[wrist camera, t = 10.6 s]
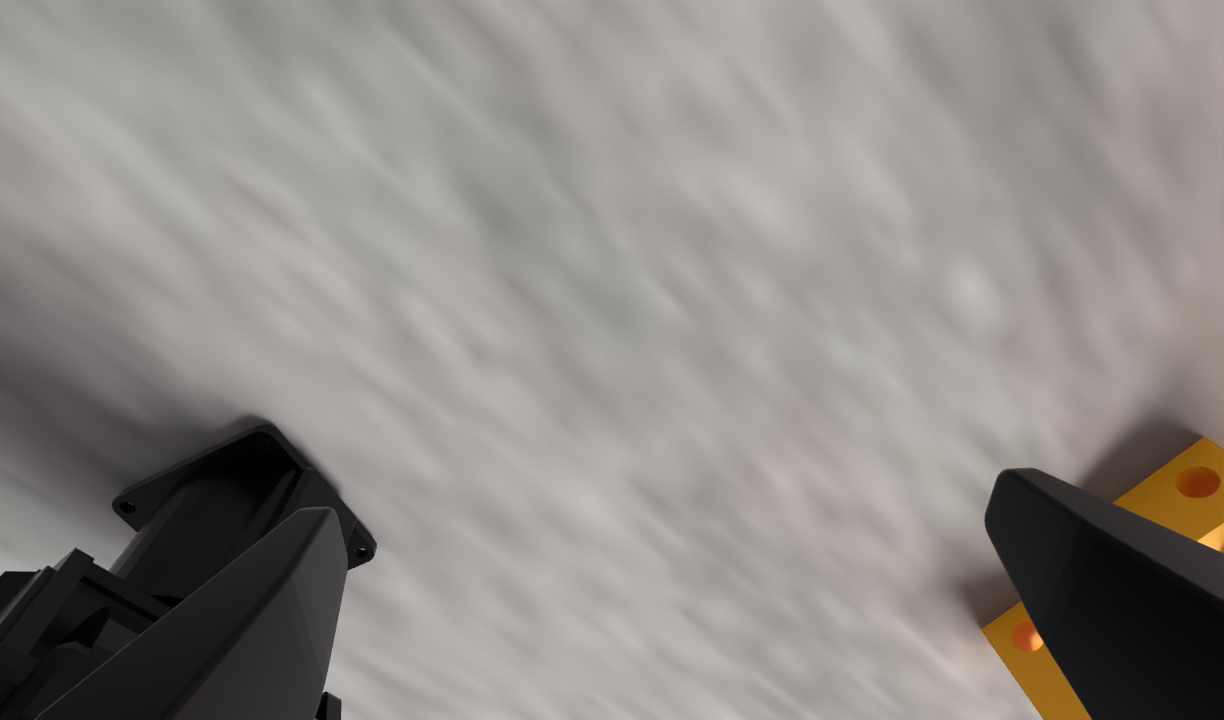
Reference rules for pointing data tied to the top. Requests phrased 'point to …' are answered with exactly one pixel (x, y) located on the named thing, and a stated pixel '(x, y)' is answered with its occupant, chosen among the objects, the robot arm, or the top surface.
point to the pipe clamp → (1172, 496)
